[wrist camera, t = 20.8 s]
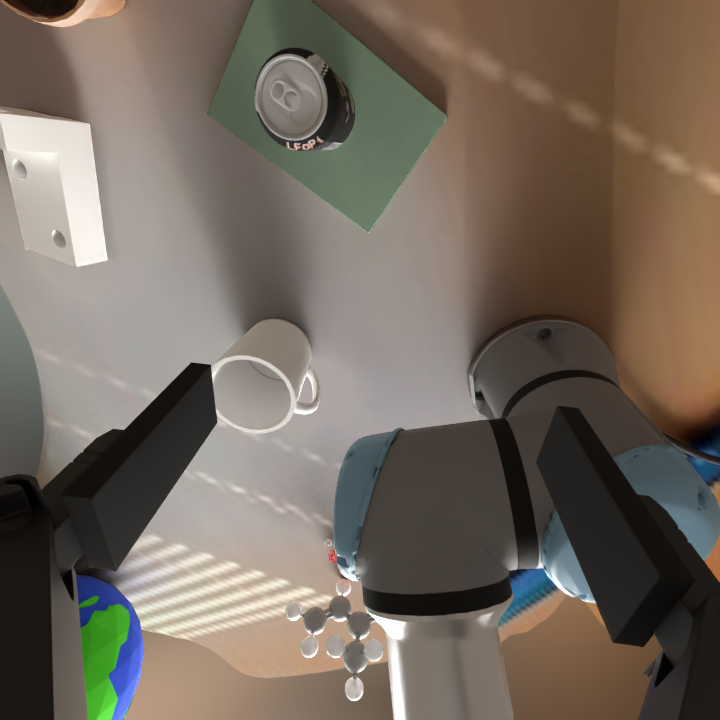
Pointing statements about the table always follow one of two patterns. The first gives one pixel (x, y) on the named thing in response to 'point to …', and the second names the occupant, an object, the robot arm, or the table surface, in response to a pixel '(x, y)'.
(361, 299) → the table surface
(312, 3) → the mat
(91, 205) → the bracket
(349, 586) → the molecule model
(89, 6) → the potted plant
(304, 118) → the beverage can
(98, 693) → the globe
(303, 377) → the mug
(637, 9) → the table surface
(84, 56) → the table surface
